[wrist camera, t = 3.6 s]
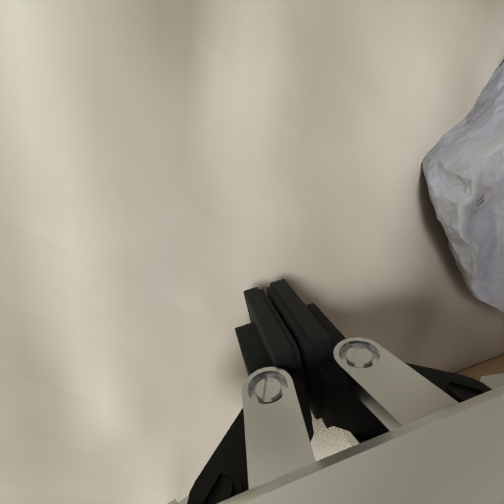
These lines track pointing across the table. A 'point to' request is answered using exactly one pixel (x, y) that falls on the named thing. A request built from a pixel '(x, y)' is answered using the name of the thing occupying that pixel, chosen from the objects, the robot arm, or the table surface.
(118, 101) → the table surface
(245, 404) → the robot arm
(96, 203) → the table surface
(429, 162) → the stone block
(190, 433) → the table surface
